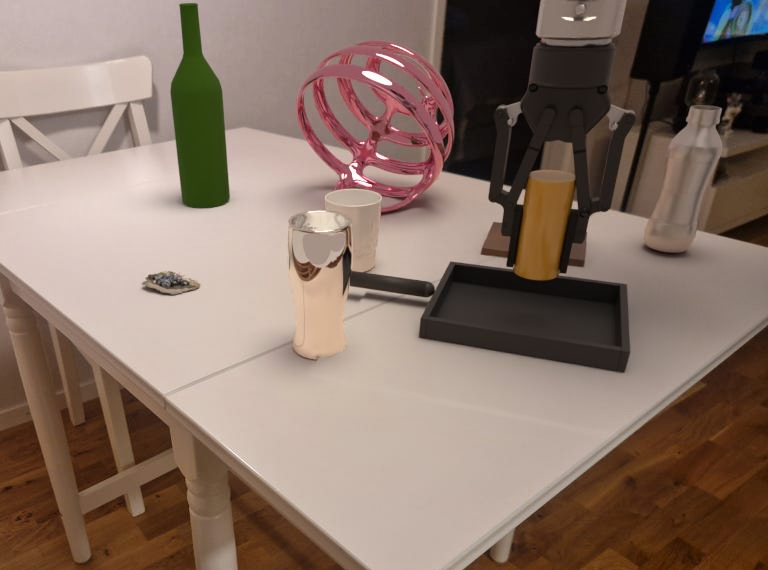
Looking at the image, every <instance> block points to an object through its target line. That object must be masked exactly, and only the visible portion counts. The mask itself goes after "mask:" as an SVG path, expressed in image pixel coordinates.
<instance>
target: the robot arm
mask: <svg viewBox="0 0 768 570" xmlns="http://www.w3.org/2000/svg"><path fill="white" fill-rule="evenodd" d="M627 2H628V0H540V2H539V9H538V15H537V22H536V30H535V35H536V37H538V38H539V39H541V40H539V42H537V43H536V44H535V45H534V46H533V51H532V58H531V64H530V70H529V77H528V85H527V90H526V92H525V94H524V95H523V96H522V98H521V100H520V101H518V102H517V101H516V102H514V103H511V104H507V105H506V104H500V105H498V106H497V108H496V109H495V111H494V112H493V120H494V122H495V123H494V124H495V128H496V140H495V147H494V154H493V160H492V167H491V174H490V181H489V188H488V189H489V190H488V196H487V197H488V198H487V199H488V201H489V202H490V203H492V204H498V205H500V206H501V207H502V209H503V213H502V221H501V223H502V227H501V234H502V236H508V237H510V244H509V250H508V257H507V258H506V264H505V267H506V268H513V267H514V260H515V254H516V247H517V241H518V235H519V228H520V222H521V215H522V208H523V203H521V204H520V203H518V201H519V199H520V197H521V194H522V192H523V190H524V187H525V186H526V182H527V178H528V176H529V174H530V172H532V169H533V167H534V165H535V162H536V161H537V158H538V155H539V153H540V152H541V149H542V146H543V144H544V143H545V142H548V143H549V142H550V143H551V142H556V141H560V142H563V143H566V144H567V143H568V144H571V146H572V155H573V166H574V174H575V179H576V189H575V192H576V201H577V202H576V203H577V208H572V209H571V214H570V219H569V224H568V229H567V234H566V239H565V245H564V250H563V255H562V260H561V265H560V271H559V274H564V275H566V274H567V273H568V267H569V265H568V263H569V258H570V253H571V248H572V243H578V244H582V243H583V241H584V240H585V236H586V232H588V231H587V230H588V225H589V221H590V218H591V216H592V215H594V214H597V213H607V212H608V211H610V209H611V207H612V203H613V197H614V192H615V189H616V184H617V179H618V174H619V170H620V164H621V160H622V154H623V150H624V145H625V141H626V138H627V136H628V135H629V134H630V131H631V130H632V128H633V127H634V125H635V123H636V121H637V119H636V118H637V117H636V112H635V110H634V109H632V108H627V109H625V108H622V107H619V106H617V105H614V104H612V99H611V96H610V93H609V89H610V85H611V80H612V75H613V70H614V65H615V60H616V56H617V51H618V47H617V46H616V43H614V42H612V41H613V39H614V38H617V37H618V36H619V35H620V34H621V32H622V26H623V23H624V17H625V11H626V7H627ZM520 114H523V116H524V118H525V120H526V121H527V124H528V126H529V127H530V129H531V130H532V132H533V134H532V137H531V140H530V142H529V144H528V146H527V149H526V151H525V154H524V156H523V159H522V160H521V163H520V166H519V168H518V169H517V172H516V175H515V177H514V180H513V182H512V184H511V187H510V190H509V191H507V190H505V189H504V182H505V177H506V170H507V165H508V158H509V157H508V156H509V150H510V143H511V136H512V129H513V128H512V127H514V126H515V125H516V124H517V122H518V118H519V115H520ZM605 117H607V118H608V125H607V127H608V129H609V131H611V135H610V140H609V144H608V149H607V153H606V158H605V159H606V160H605V165H604V168H603V174H602V179H601V184H600V189H599V193H598V196H596V197H592V195H591V194H592V193H591V182H590V168H589V155H588V140H587V135H588V134H589V133H590V132H591V131H592V130H593V129H594V128H595V127H596V126H597V125H598V124H599V123H600V122H601V121H602V120H603V119H604V118H605Z"/></svg>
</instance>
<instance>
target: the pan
mask: <svg viewBox="0 0 768 570" xmlns="http://www.w3.org/2000/svg"><path fill="white" fill-rule="evenodd" d="M628 297H629V295H628V284H627V283H620V282H614V281H606V280H598V279H591V278H590V279H589V278H583V277H575V276H567V275H560V274H559V275H558V276H557V277H556V278H554V279H550V280H531V279H526V278H523V277H520V276H518V275H517V274H515V273H514V271H513V268H507V267H506V268H505V267H496V266H489V265H481V264H475V263H474V264H473V263H467V262H466V263H465V262H458V261H449V263H448V265H447V267H446V268H445V270H444V273H443V274H442V276H441V278H440V280H439V282H438V284H437V286H436V287H435V292H434V294H433V295H432V296H430V299H429V301H428V303H427V305H426V307H425V309H424V311H423V312H422V314H421V316H420V320H419V329H418V331H419V332H418V339H423V340H428V341H429V340H430V341H436V342H441V343H447V344H451V345H459V346H465V347H471V348H476V349H482V350H489V351H494V352H499V353H505V354H512V355H517V356H524V357H528V358H535V359H541V360H546V361H552V362H558V363H564V364H569V365H574V366H575V365H576V366H581V367H587V368H593V369H599V370H604V371H611V372H616V373H621V374H625V372H626V369H627V365H628V363H629V358H630V355H631V338H630V318H629V299H628Z"/></svg>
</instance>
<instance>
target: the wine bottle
mask: <svg viewBox="0 0 768 570" xmlns="http://www.w3.org/2000/svg"><path fill="white" fill-rule="evenodd" d="M178 6H179V15H180V26H181V40H182V52H183V53H182V58H181V60H180V62H179V65H178V66H177V69H176V71H175V73H174V76H173V78H172V80H171V82H170V92H169V93H170V100H171V101H170V102H171V111H172V121H173V130H174V139H175V147H176V148H175V149H176V156H177V166H178V175H179V176H178V177H179V184H180V193H181V201H182V204H183V205H184V206H186V207H189V208H193V209H194V208H196V209H210V208H217V207H221V206H223V205H226V204H227V203H228V202H229V201H230V197H231V195H230V182H229V168H228V167H229V165H228V151H227V138H226V125H225V124H226V123H225V109H224V97H223V96H224V95H223V89H222V84H221V81H220V79H219V78H218V75H216V73H215V72H214V70H213V68H212V67H211V65H210V64H209V63H208V61H207V59H206V57H205V56H204V53H203V46H202V35H201V26H200V15H199V4H198V3H197V2H185V3H183V2H182V3H179V5H178ZM220 205H221V206H220Z"/></svg>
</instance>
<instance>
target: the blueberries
mask: <svg viewBox="0 0 768 570" xmlns="http://www.w3.org/2000/svg"><path fill="white" fill-rule="evenodd" d="M185 276H186V274H184V275H182V274H180V271H178V272H177V273H176V272H173V271H170V270H168V271H160V272H157V273H150V274H147V277H145V280H146V281H142V283H141V286H145V287H147V288H150V289H155V290H156V291H159V292H160V293H163V294H170V295H172V296H173V295H178V294H183V292H184V293H186V292H188V291H194V290H197V289H199V288H200V287H201V283H200V282H199V280H197V279H192V278H190V277H189V278H185Z"/></svg>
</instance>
